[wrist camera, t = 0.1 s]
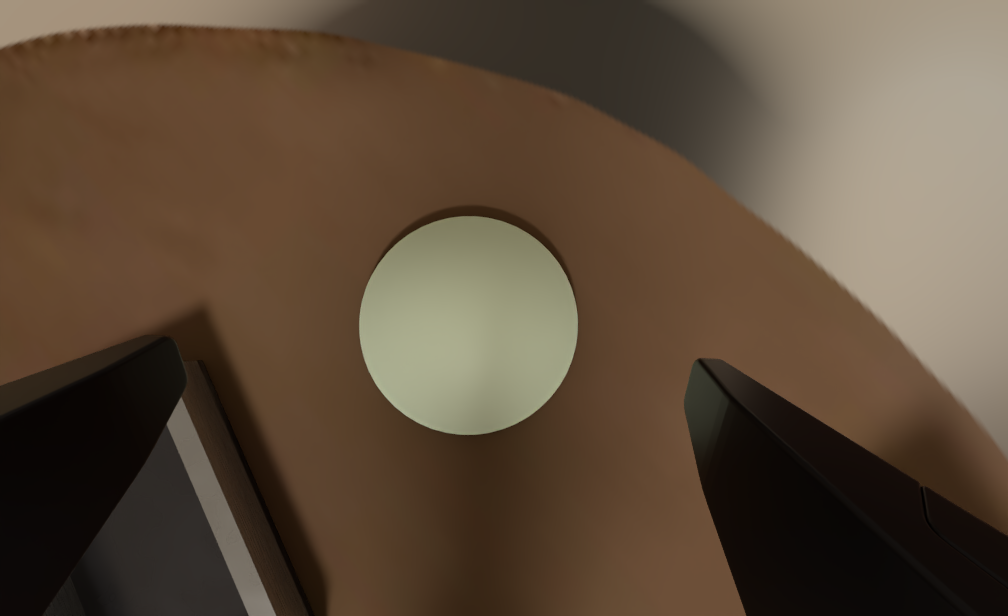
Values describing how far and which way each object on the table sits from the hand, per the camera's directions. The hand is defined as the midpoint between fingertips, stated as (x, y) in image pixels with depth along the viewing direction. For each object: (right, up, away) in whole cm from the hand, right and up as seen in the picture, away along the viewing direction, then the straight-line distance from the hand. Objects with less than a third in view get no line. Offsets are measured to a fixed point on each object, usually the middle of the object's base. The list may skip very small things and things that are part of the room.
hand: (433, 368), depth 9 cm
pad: (0, 0, +15) cm, 15 cm away
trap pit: (-14, -10, +14) cm, 23 cm away
